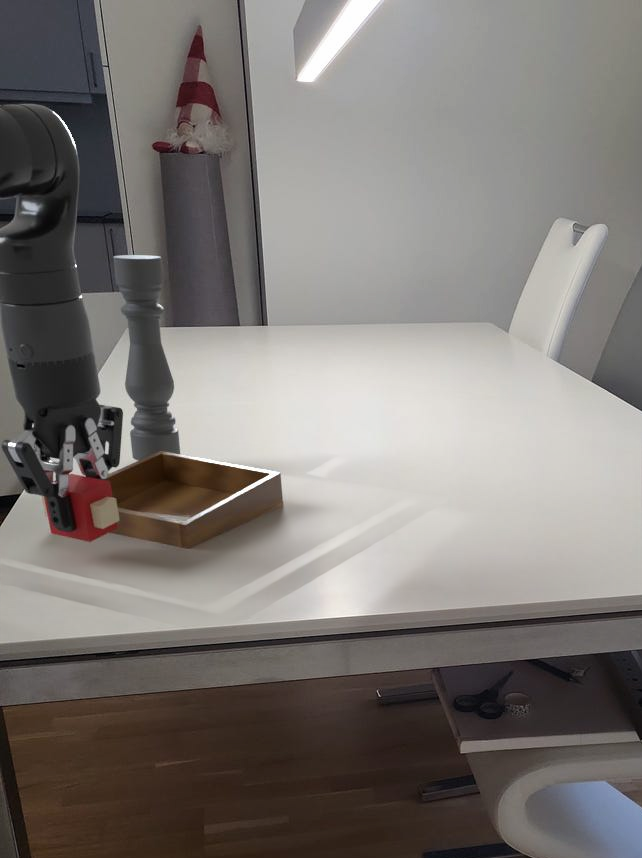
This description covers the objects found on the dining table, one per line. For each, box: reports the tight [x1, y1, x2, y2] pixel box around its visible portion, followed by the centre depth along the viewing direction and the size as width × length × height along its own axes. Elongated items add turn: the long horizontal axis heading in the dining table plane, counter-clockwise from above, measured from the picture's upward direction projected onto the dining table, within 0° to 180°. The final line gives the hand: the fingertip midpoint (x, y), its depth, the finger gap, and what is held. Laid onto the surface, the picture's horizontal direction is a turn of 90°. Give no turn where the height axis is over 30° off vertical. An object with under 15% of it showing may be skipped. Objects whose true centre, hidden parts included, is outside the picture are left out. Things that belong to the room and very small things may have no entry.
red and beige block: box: [40, 473, 120, 543], centre depth 103 cm, size 7×4×5 cm, turn 66°
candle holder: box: [112, 254, 181, 461], centre depth 134 cm, size 6×6×25 cm
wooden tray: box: [106, 451, 284, 550], centre depth 119 cm, size 18×18×4 cm
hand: (82, 521), depth 104 cm, fingers closed on red and beige block, 4 cm apart
